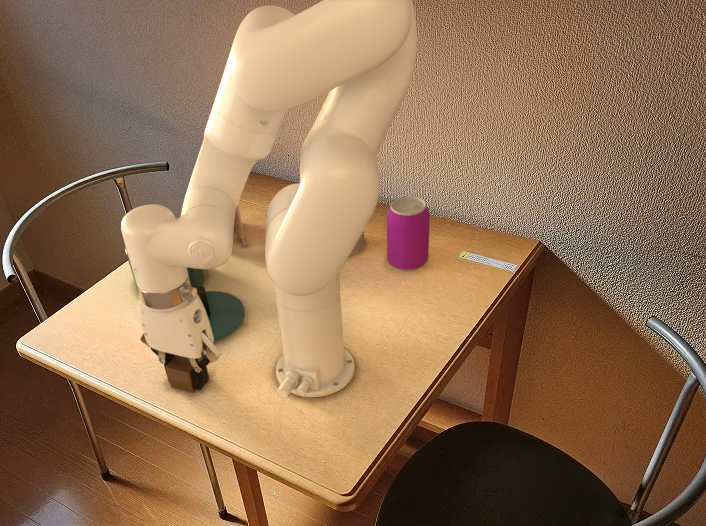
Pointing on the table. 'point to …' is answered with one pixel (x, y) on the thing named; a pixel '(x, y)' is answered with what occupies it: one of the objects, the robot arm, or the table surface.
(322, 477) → the table surface
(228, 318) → the lid
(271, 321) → the table surface
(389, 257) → the beverage can
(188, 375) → the block
